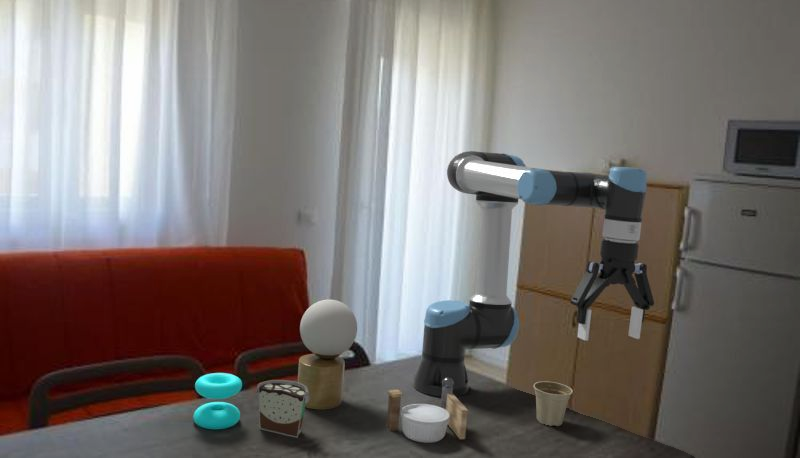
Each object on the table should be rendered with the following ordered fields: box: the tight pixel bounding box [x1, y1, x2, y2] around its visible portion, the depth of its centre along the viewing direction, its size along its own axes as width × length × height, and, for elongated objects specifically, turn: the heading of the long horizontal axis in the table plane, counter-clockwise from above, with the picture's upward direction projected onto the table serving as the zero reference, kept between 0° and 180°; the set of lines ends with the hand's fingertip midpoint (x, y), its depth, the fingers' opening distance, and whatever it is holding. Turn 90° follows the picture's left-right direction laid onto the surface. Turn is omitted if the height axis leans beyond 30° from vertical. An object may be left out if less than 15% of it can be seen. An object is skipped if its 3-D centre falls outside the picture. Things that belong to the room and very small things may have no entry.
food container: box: [255, 379, 309, 439], centre depth 146 cm, size 12×6×10 cm, turn 71°
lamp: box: [297, 299, 358, 410], centre depth 165 cm, size 15×14×25 cm
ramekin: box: [400, 403, 450, 444], centre depth 150 cm, size 11×11×5 cm
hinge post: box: [440, 377, 454, 410], centre depth 158 cm, size 4×4×11 cm
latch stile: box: [385, 389, 404, 432], centre depth 151 cm, size 3×3×9 cm
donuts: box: [193, 372, 243, 430], centre depth 147 cm, size 10×10×10 cm
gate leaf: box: [446, 393, 469, 440], centre depth 152 cm, size 10×1×7 cm, turn 15°
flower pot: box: [532, 380, 574, 427], centre depth 163 cm, size 9×9×9 cm
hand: (608, 338), depth 143 cm, fingers open, 13 cm apart
